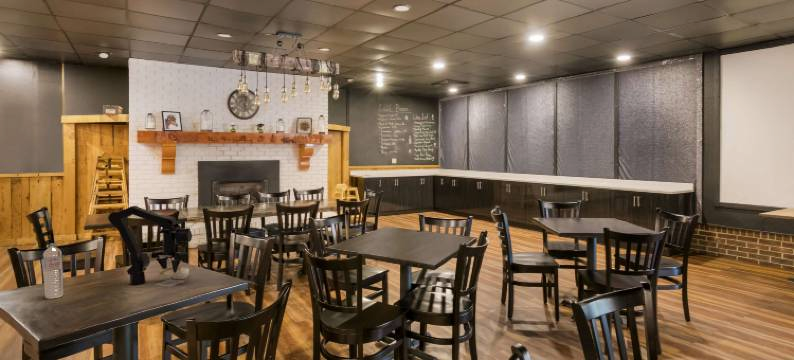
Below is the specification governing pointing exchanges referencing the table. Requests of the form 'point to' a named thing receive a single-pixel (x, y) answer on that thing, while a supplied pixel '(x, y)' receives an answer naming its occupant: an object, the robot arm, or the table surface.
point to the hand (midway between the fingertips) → (170, 271)
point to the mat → (169, 282)
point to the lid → (169, 271)
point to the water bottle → (53, 272)
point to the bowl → (181, 274)
